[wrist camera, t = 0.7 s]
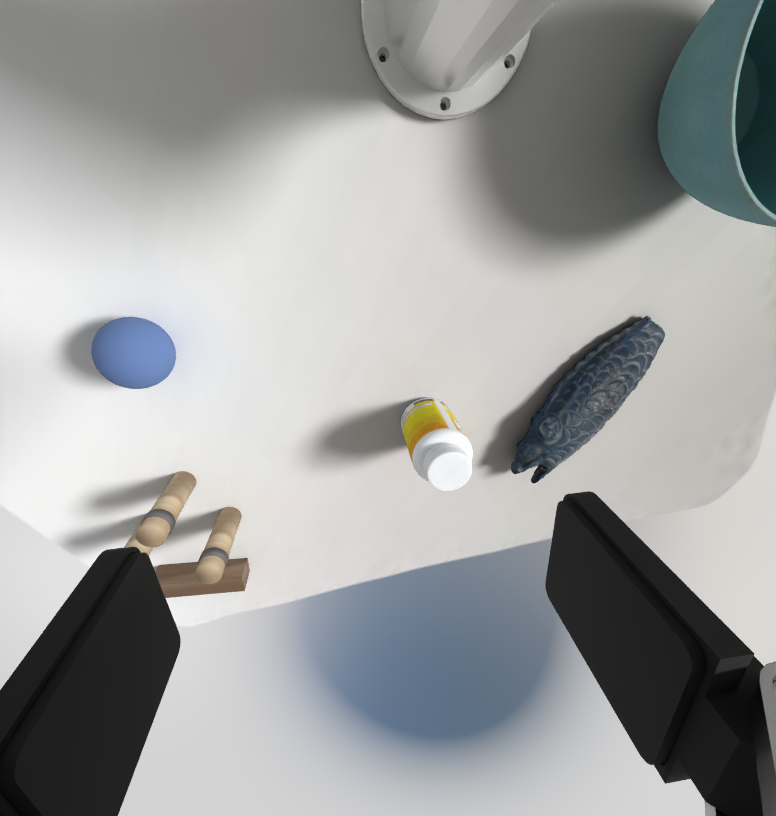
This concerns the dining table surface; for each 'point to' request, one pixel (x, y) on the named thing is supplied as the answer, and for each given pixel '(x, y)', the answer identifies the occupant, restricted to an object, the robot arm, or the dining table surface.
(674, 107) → the teal bowl
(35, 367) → the dining table surface
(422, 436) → the supplement bottle
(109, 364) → the ball
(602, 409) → the fish model
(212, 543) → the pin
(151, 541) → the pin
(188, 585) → the back wall
